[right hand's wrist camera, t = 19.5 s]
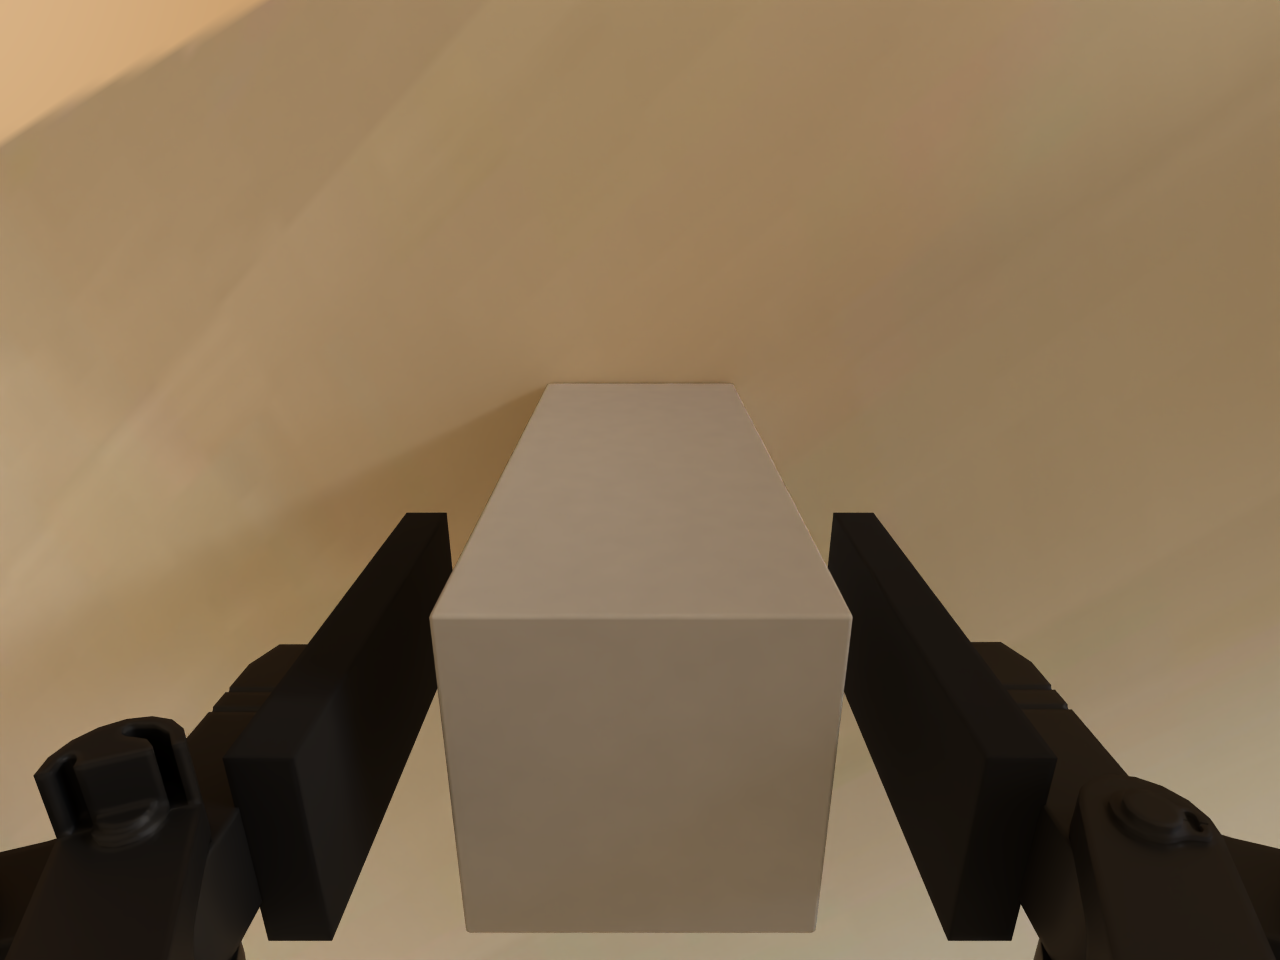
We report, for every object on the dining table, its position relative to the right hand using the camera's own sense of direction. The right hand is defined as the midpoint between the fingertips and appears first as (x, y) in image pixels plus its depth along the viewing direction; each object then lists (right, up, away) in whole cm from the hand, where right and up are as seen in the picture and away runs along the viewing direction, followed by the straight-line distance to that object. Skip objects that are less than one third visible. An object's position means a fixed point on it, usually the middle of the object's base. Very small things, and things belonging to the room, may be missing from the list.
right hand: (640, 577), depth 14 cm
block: (0, +2, +6) cm, 6 cm away
